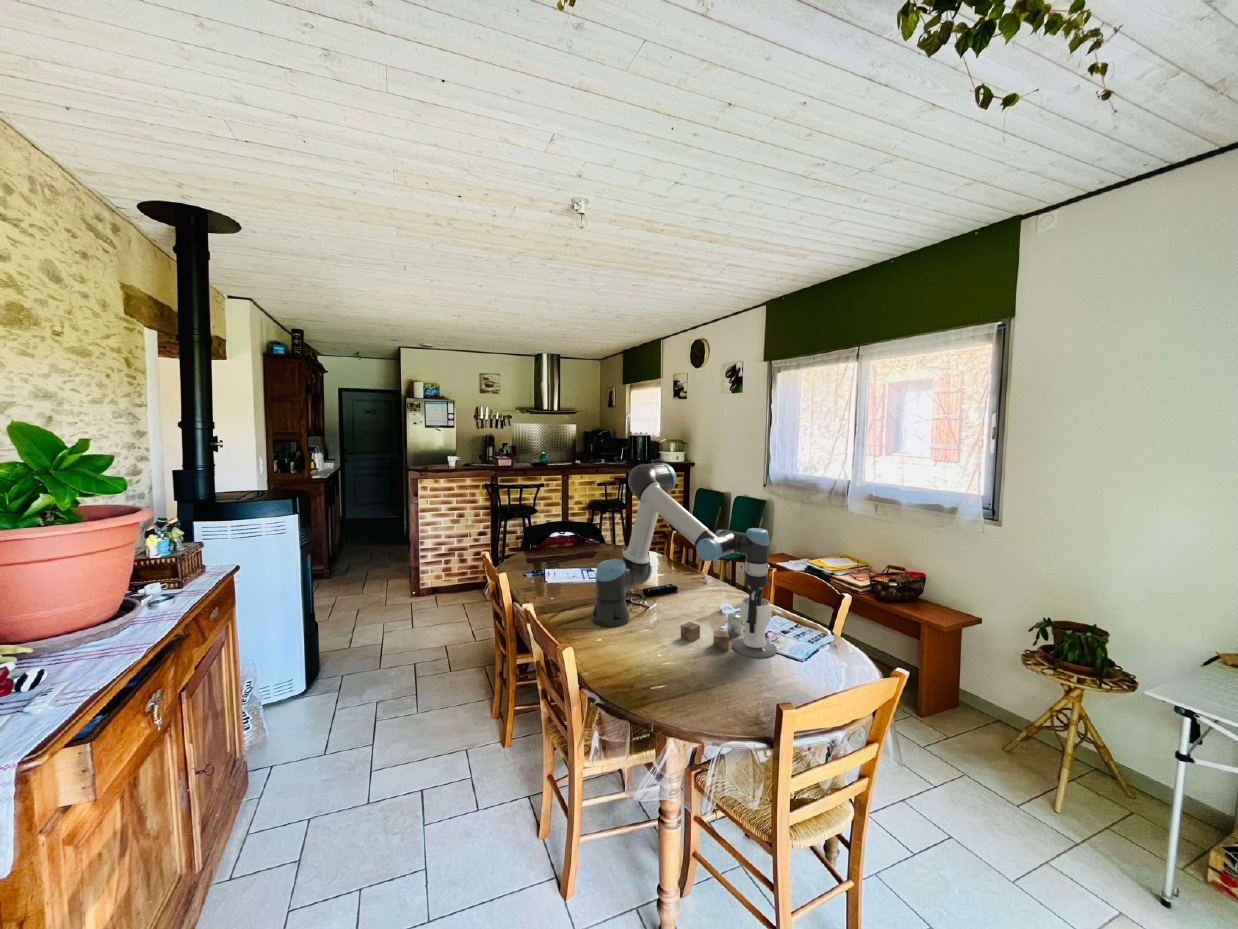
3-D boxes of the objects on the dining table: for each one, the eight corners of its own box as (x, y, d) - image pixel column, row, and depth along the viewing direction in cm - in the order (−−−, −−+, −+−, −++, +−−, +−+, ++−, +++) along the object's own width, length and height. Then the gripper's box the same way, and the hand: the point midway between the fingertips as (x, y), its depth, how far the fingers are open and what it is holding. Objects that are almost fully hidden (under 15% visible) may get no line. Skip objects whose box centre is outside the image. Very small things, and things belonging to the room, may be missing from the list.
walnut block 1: (680, 638, 188) (680, 625, 187) (688, 634, 191) (689, 621, 191) (691, 642, 184) (691, 629, 184) (699, 638, 188) (700, 625, 187)
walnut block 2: (713, 650, 178) (714, 636, 178) (713, 644, 183) (713, 630, 183) (728, 651, 177) (728, 637, 177) (727, 645, 182) (727, 631, 182)
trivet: (728, 653, 176) (728, 651, 176) (737, 636, 189) (737, 635, 189) (774, 661, 170) (774, 659, 170) (779, 643, 183) (779, 642, 183)
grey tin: (726, 635, 191) (726, 616, 190) (729, 630, 196) (729, 612, 195) (739, 637, 189) (740, 618, 188) (742, 632, 194) (742, 614, 193)
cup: (771, 651, 173) (773, 608, 172) (739, 648, 175) (740, 605, 174) (768, 638, 184) (770, 597, 182) (738, 635, 186) (739, 595, 184)
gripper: (762, 584, 165) (760, 650, 167) (771, 566, 186) (770, 625, 188) (739, 581, 168) (737, 646, 170) (750, 563, 189) (749, 621, 191)
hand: (754, 635), depth 179 cm, fingers closed on cup, 10 cm apart
